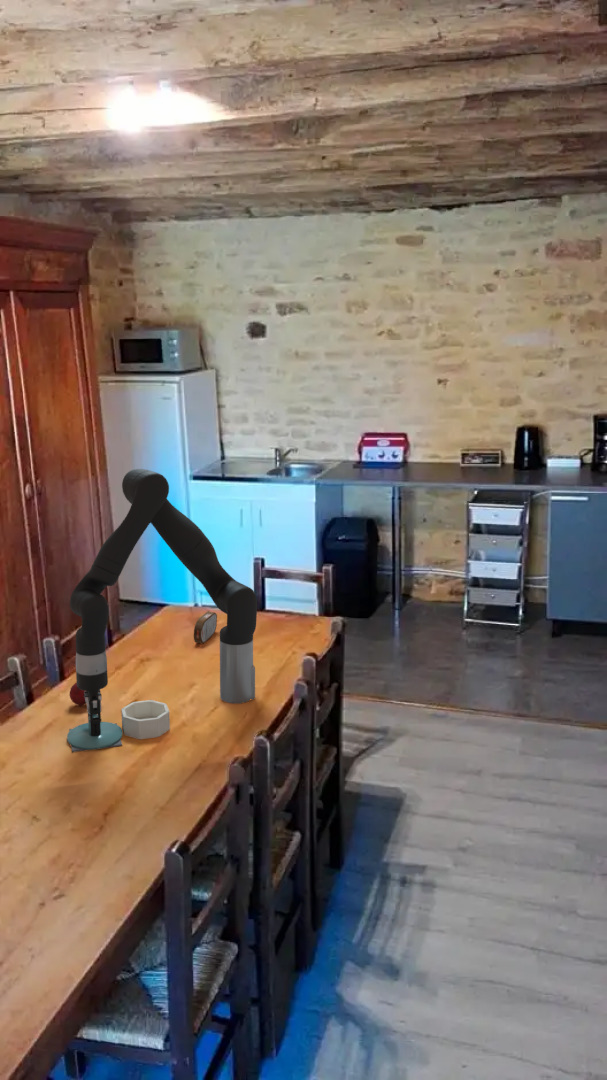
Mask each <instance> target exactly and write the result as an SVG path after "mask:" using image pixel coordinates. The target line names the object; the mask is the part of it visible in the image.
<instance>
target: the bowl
mask: <svg viewBox="0 0 607 1080" xmlns="http://www.w3.org/2000/svg"><path fill="white" fill-rule="evenodd" d="M120 712H121V729H122V732H123V735H124V736H127V737H130V738H134V739H137V740H145V739H152V738H159V737H161V736H162V735H164V734H165V733H166V732H168V731H169V730H170V729H171V727H170V725H171V724H170V722H171V721H170V720H171V719H170V709H169V707H168V705H167V703H165V702H162V701H157V700H154V699H148V700H140V701H133V702H130V703H129V704H128V705H125V706H124V707H122V708H121V711H120Z"/></svg>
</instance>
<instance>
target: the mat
mask: <svg viewBox="0 0 607 1080" xmlns="http://www.w3.org/2000/svg"><path fill="white" fill-rule="evenodd" d="M114 724H116V725H118V723H115V722H114ZM72 729H73V728H69V729H68V732H69V731H70V730H72ZM121 739H122V738H121ZM121 739H120V740H119V741H118V742H117V743H115V744H113V745H111V746H109V747H105V748H104V749H106V748H107V749H108V748H113V747H115V748H116V747H121V746H123V743H122V740H121ZM70 746H71V752H72V753H77V752H86V751H87V750H86V749H79V748H76V747H73V746H72V745H70Z"/></svg>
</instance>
